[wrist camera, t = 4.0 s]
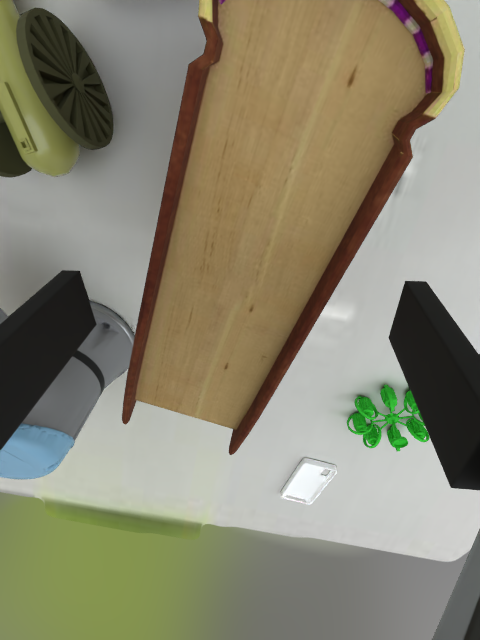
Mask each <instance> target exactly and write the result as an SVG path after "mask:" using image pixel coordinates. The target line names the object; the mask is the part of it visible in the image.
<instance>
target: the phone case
mask: <svg viewBox="0 0 480 640" xmlns="http://www.w3.org/2000/svg"><path fill="white" fill-rule="evenodd" d="M324 469H328V470H331V471H330V472H329V473H328V474H327V476H325V475H321V473H322V472H323V471H324ZM336 473H337V469H336V465H333V464H329V463H325V462H321V461H317V460H313V459H309V458H304V459H302V461H301V462H300V464H299V465H298V467H297V468H296V470H295V471H294V473H293V474H292V476H291V477H290V479H289V480H288V482H287V483H286V485H285V486H284V487H283V489H282V490H281V498H283V499H287V500H291V501H295V502H299V503H304V504H308V505H310V504H312V503H313V501H314V500H315V499H316V498H317V497H318V495H319V494H320V493H321V492H322V490H323V489H324V488H325V487H326V486H327V484H328V483H329V482H330V481H331V479H332V478H333V477H334V476H335V474H336ZM331 475H332V476H331ZM330 476H331V477H330ZM329 477H330V478H329ZM327 480H328V481H327ZM326 481H327V482H326ZM286 495H287V496H292V497H296V498H300V499H304V500H305V502H302V501H298V500H294V499H290V498H286Z"/></svg>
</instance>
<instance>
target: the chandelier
mask: <svg viewBox="0 0 480 640" xmlns="http://www.w3.org/2000/svg"><path fill="white" fill-rule="evenodd" d="M380 394H381V397H382V400H383V402H384V404H385V406H387V407H389V408H390V412H391V414H388V415H383V414H381V413H379V412H378V411H377V409H376V407H375V406H374V404H373V403H372V402H371V400H370V399H369V398H367V397H361V396H359V397H357V398H356V399H355V406H356V408H357V410H358V411H359V412H360V413H355V414H353V415H351V416H350V417H349V418H348V420H347V425H348V428H349V430H350V431H351V432H353V433H355V434H358V435H363V442H364V444H365V446H367V447H369V448H374V447H376V446H377V445H378V443H379V442H380V439H381V429H382V428H383V427H385V426H386V425H387V424H388V423H389V424H392V425H393V426H391V427H390V428H391V429H389V430H388V431H387V435H388V438H389V442H390V443H391V445H392V446H393V447H395V448H396V450H397V451H400V448H403V447H405V446H407V444H408V441H407V439H406V438H405V437H401V434H400V432H399V430H398V429H397V428H396V425H395V423H397V422H398V423H400V424H403V425H405V426H407V428H408V430H409V432H410V433H411V434H412V435H413V436H414V438H415V439H417V440H419V441H421V442H426V441H428V440H429V434H428V432H427V430H426V429H425V428H424V426H425V424H424V422H420V421H419V420H417V419H416V418H415V417H414V414H417V413H418V414H419V416H420V419H421V420H422V421H423V419H422V417H421V414H420V412H419V410H418V407H417V405H416V402H415V400H414V398H413V395H412V393H411V390H410V391H408V392H407V393H406V396H405V399H404V409H403V410H402V411H400V412H399V413H398V414H394V413H392V411H394V407H395V406H396V405H397V397H396V395H395V392H394V390H393V389H392V388H390V387H389V386H388V385H384V388H383V389H382V390H381V393H380ZM357 399H360V400H359V402H358V403H357ZM365 401H366V402H365ZM407 402H408V404H409V406H410V407H411V409H412V412H410V411H409V410H408V408H407ZM358 404H359V405H358ZM404 410H406V411H407V412H409V413H411V414H412V416H407V417H399V416H398V415H399V414H401V413H402V412H403V411H404ZM415 410H416V411H415ZM373 411H374V412H375V417H371V416H372V415H373V414H374V412H373ZM378 414H380V415H382V416H384V417H385V419H384V420H377V421H372V420H374V419H375V418H376V417H377V416H378ZM365 417H366V418H367V419H370V421H371V424H370V425H369V426H367V424H366V420H365ZM411 417H413V419H409V420H408V421H407V422H406V424H404V423H402V422H399V419H403V418H411ZM351 418H352V419H353V424H354V428H355V429H356V431H357V432H356V431H353V430H352V429H351V428H350V427H349V421H350V419H351ZM381 421H387V423H386V424H385V425H383V426H382V427H381V428H380V427H379V426H378V425H376V424H373V422H381ZM409 421H411V422H410V423H409ZM413 422H414V423H413ZM374 426H376V427H377V428H378V432H377V429H376V427H374ZM425 436H426V440H424V438H425ZM366 439H367V441H368V443H369V444H371V445H372V446H368V445H367V443H366Z"/></svg>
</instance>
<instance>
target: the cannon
mask: <svg viewBox="0 0 480 640" xmlns="http://www.w3.org/2000/svg"><path fill="white" fill-rule="evenodd" d="M112 135H113V118H112V112H111V108H110V104H109V101H108V97H107V94H106V92H105V89H104V86H103V84H102V82H101V79H100V77H99V75H98V73H97V71H96V69H95V67H94V65H93V63H92V61H91V59H90V58H89V56H88V55H87V53H86V51H85V50H84V48H83V47H82V45H81V44H80V42H79V41H78V40H77V38H76V37H75V36H74V35H73V33H72V32H71V31H70V30H69V29H68V27H67V26H66V25H65V24H64V23H63V22H62V21H61V20H60V19H59V18H57V17H56V16H55V15H53V14H52V13H51V12H49V11H47V10H44V9H42V8H34V9H32V10H30V11H28V12H26V13H24V14H21V16H20V15H19V13H18V11H17V8H16V6H15V4H14V2H13V0H0V176H2V177H16V176H20V175H23V174H26V173H27V172H29V171H31V169H32V168H33V169H34V170H36V171H38V172H40V173H44V174H47V175H50V176H53V177H58V176H63V175H66V174H68V173H69V172H70V171H71V169H72V168H73V167H74V166H75V165H76V163H77V161H78V158H79V156H80V146H79V145H81V146H83V147H84V148H87V149H91V150H95V149H100V148H102V147H105V146H107V145H108V144H109V143H110V141H111V140H112Z"/></svg>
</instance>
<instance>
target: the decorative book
mask: <svg viewBox="0 0 480 640" xmlns="http://www.w3.org/2000/svg"><path fill="white" fill-rule="evenodd" d="M198 17H199V20H200V23H201V25H202V28H203V31H204V34H205V37H206V40H207V42H206V46H205V50H204V54H203V55H202V56H200V57H199V58H197V59H196V60H194V61H193V62H191V63H190V64H189V66H188V71H187V76H186V81H185V86H184V91H183V96H182V101H181V106H180V111H179V116H178V121H177V126H176V131H175V136H174V142H173V147H172V152H171V157H170V162H169V167H168V172H167V177H166V182H165V187H164V192H163V197H162V202H161V207H160V212H159V217H158V222H157V227H156V232H155V237H154V242H153V247H152V252H151V258H150V263H149V268H148V273H147V278H146V283H145V288H144V293H143V298H142V303H141V308H140V313H139V318H138V323H137V328H136V333H135V338H134V343H133V348H132V353H131V359H130V364H129V369H128V375H127V380H126V387H125V394H124V403H123V413H122V421H123V423H124V424H127V423H128V422H129V420H130V417H131V414H132V412H133V409H134V406H135V403H136V401H137V400H138V401H141V402H144V403H148V404H151V405H155V406H158V407H161V408H165V409H168V410H171V411H175V412H178V413H181V414H185V415H188V416H191V417H195V418H198V419H202V420H205V421H208V422H212V423H215V424H218V425H222V426H225V427H228V428H232V429H233V433H232V437H231V442H230V446H229V454H230V455H232V454H234V453H235V452H236V451H237V449H238V448H239V447H240V445H241V444H242V442H243V441H244V440H245V438H246V437H247V435H248V434H249V432H250V431H251V429H252V428H253V426H254V425H255V423H256V422H257V420H258V419H259V417H260V415H261V414H262V412H263V410H264V409H265V407H266V405H267V404H268V402H269V400H270V399H271V397H272V395H273V394H274V392H275V390H276V389H277V387H278V385H279V383H280V382H281V380H282V378H283V377H284V375H285V373H286V372H287V370H288V368H289V367H290V365H291V363H292V361H293V360H294V358H295V356H296V355H297V353H298V351H299V350H300V348H301V346H302V344H303V343H304V341H305V339H306V338H307V336H308V334H309V333H310V331H311V329H312V327H313V326H314V324H315V322H316V321H317V319H318V317H319V316H320V314H321V312H322V310H323V309H324V307H325V305H326V304H327V302H328V300H329V299H330V297H331V295H332V293H333V292H334V290H335V288H336V287H337V285H338V283H339V282H340V280H341V278H342V276H343V275H344V273H345V271H346V270H347V268H348V266H349V265H350V263H351V261H352V259H353V258H354V256H355V254H356V253H357V251H358V249H359V248H360V246H361V244H362V242H363V241H364V239H365V237H366V236H367V234H368V232H369V231H370V229H371V227H372V226H373V224H374V222H375V220H376V219H377V217H378V215H379V214H380V212H381V210H382V209H383V207H384V205H385V203H386V202H387V200H388V198H389V197H390V195H391V193H392V192H393V190H394V188H395V186H396V185H397V183H398V181H399V180H400V178H401V176H402V175H403V173H404V171H405V169H406V168H407V166H408V164H409V163H410V161H411V159H412V158H413V156H412V150H411V144H410V139H411V138H412V136H413V134H414V132H415V130H416V129H417V128H419V127H421V126H423V125H425V124H427V123H428V122H430V121H432V120H434V119H436V117H437V116H438V115H439V113H440V112H441V111H442V109H443V108H444V107H445V105H446V104H447V103H448V102H449V100H450V99H451V98H452V96H453V95H454V94H455V92H456V91H457V90H458V89H459V84H460V77H461V71H462V64H463V57H464V50H465V49H464V47H463V44H462V41H461V38H460V35H459V33H458V30H457V27H456V24H455V21H454V19H453V16H452V13H451V10H450V7H449V6H448V4H447V3H446V2H445V1H444V0H199V14H198Z"/></svg>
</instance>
